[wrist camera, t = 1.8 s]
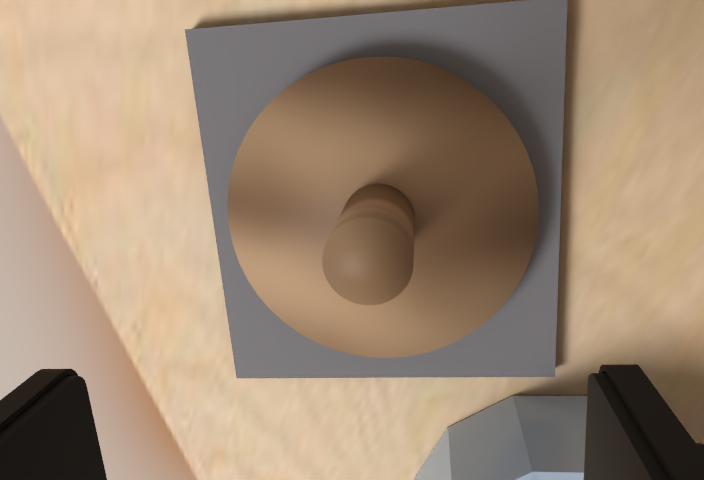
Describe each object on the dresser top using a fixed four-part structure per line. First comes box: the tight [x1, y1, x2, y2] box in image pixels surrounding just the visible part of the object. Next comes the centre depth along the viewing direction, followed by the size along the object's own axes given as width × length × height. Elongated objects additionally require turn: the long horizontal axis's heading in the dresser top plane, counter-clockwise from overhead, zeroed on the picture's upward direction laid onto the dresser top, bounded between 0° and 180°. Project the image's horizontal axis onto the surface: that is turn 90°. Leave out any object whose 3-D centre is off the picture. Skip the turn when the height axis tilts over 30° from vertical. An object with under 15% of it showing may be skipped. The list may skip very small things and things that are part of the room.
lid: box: [227, 57, 539, 358], centre depth 21 cm, size 12×12×6 cm
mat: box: [185, 0, 568, 378], centre depth 24 cm, size 15×14×1 cm
